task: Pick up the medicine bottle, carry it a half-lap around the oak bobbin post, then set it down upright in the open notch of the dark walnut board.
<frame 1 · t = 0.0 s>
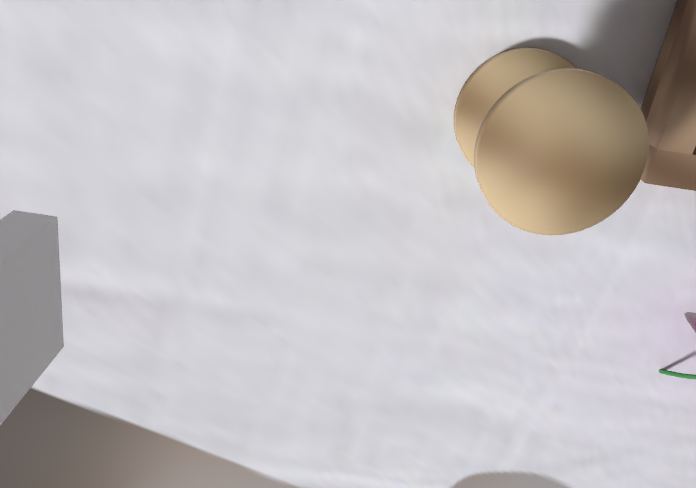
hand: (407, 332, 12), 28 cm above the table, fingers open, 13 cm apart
bobbin: (520, 116, 38), on the table
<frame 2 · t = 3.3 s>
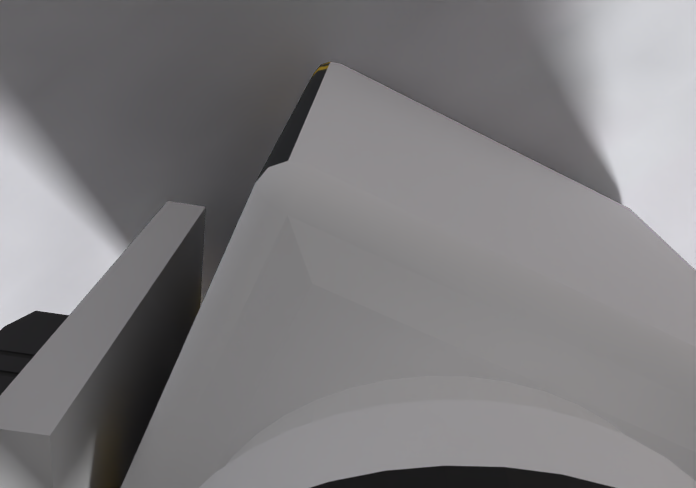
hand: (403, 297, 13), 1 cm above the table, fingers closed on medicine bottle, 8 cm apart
medicine bottle: (402, 273, 14), on the table, touching gripper
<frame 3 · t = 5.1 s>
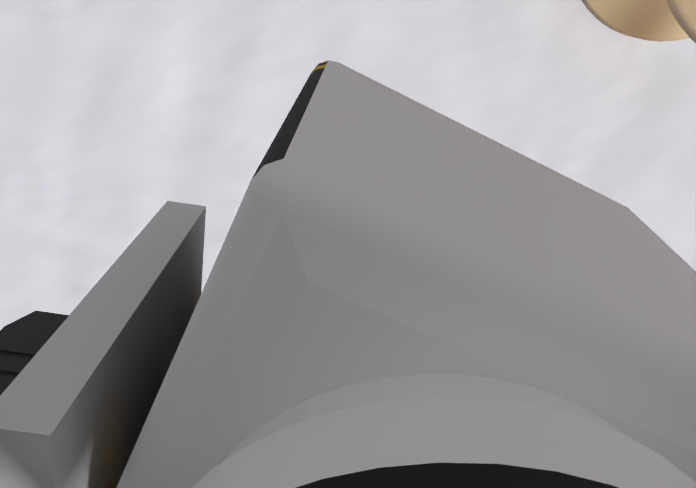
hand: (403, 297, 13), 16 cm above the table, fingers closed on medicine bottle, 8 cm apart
medicine bottle: (400, 272, 14), point 15 cm above the table, touching gripper
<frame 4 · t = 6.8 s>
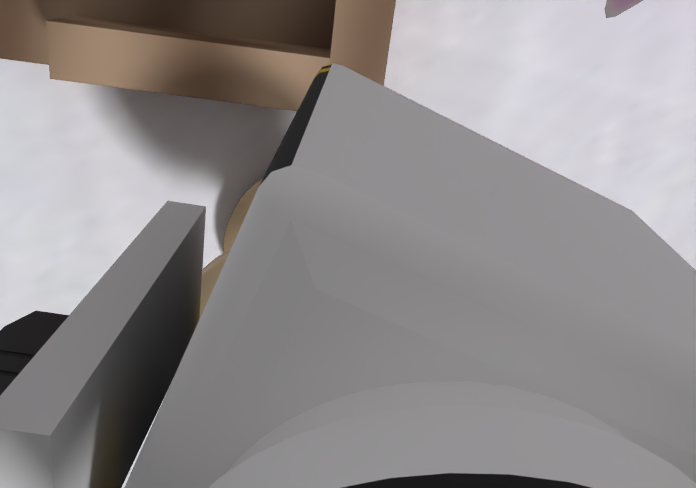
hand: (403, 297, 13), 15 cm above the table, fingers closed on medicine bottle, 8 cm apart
medicine bottle: (404, 275, 14), point 14 cm above the table, touching gripper
bobbin: (313, 246, 29), on the table
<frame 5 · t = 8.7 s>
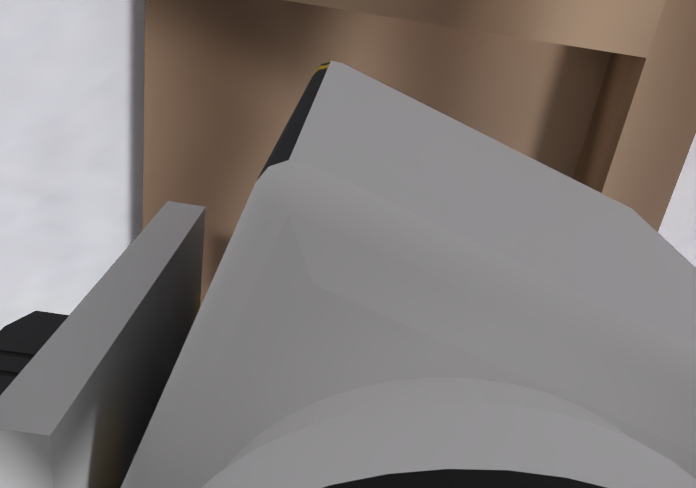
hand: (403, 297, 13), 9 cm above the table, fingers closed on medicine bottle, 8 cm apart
medicine bottle: (403, 274, 14), point 8 cm above the table, touching gripper
notched board: (385, 165, 21), on the table
when the fingers open (4 cm above the table, at t = 10.4 s): medicine bottle drops 2 cm, resting on notched board.
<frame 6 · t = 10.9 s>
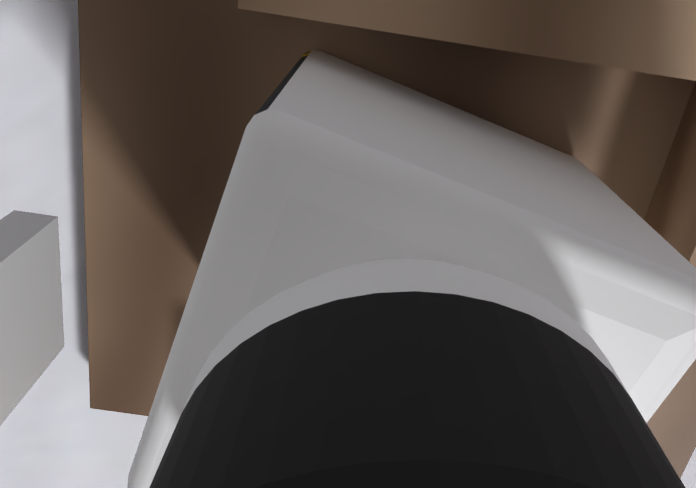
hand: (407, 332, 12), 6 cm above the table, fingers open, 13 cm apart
medicine bottle: (389, 230, 16), point 1 cm above the table, touching notched board
notched board: (395, 216, 17), on the table
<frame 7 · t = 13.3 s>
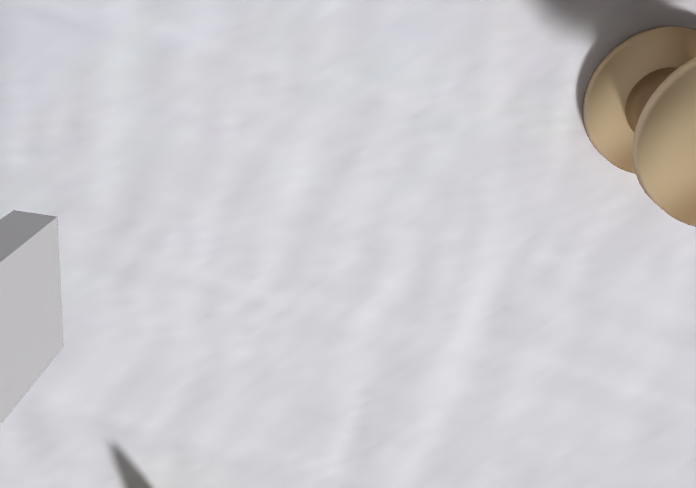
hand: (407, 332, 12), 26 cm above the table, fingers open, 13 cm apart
bobbin: (656, 101, 35), on the table
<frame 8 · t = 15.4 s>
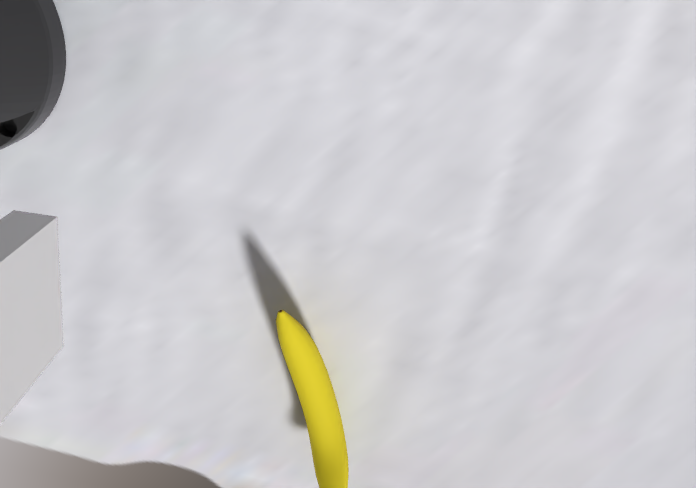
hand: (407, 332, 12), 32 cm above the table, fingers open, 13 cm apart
banana: (317, 378, 51), on the table
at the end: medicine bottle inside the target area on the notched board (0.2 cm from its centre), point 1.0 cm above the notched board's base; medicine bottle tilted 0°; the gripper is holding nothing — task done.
